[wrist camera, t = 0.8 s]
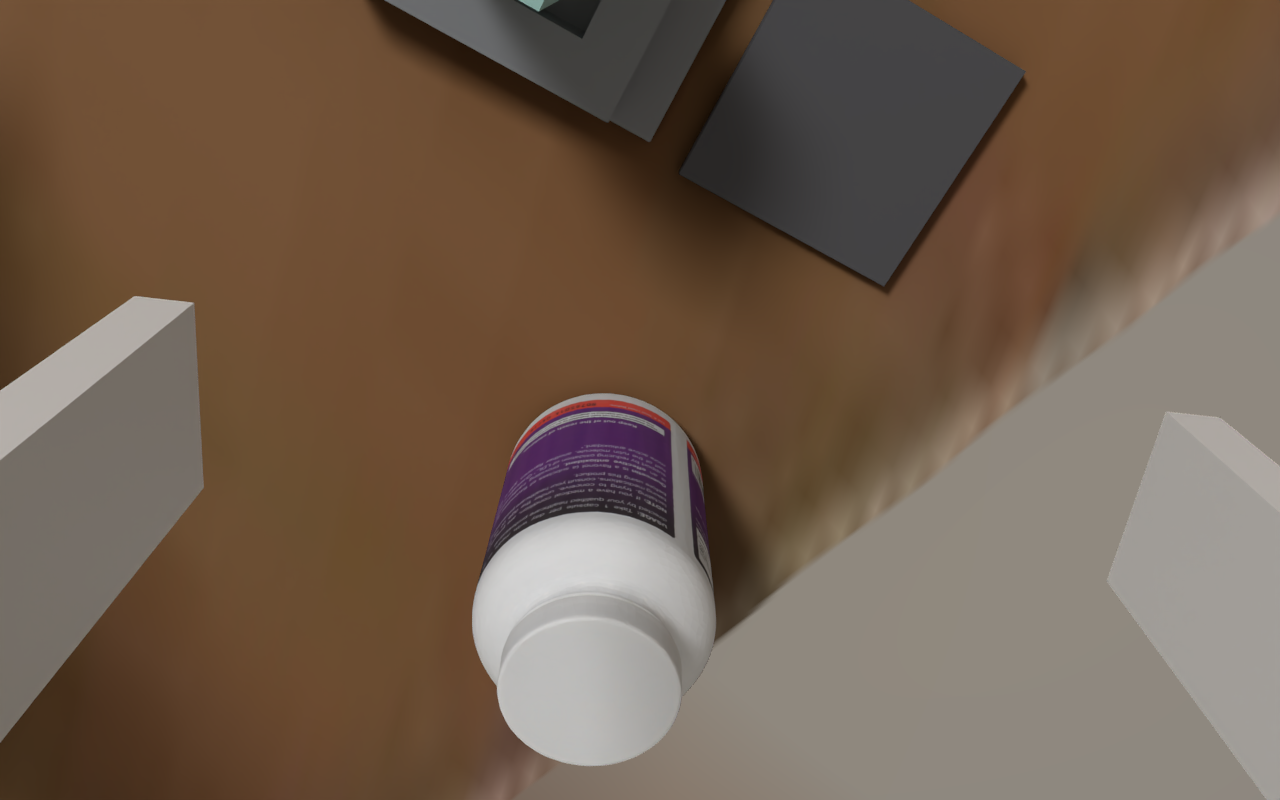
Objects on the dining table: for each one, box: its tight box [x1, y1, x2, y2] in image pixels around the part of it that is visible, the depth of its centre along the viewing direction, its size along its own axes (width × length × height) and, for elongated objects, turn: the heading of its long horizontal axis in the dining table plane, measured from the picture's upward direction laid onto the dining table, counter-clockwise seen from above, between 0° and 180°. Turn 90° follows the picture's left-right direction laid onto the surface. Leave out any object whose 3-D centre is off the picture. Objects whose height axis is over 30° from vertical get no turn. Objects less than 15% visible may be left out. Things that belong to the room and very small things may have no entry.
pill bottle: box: [472, 393, 716, 766], centre depth 38 cm, size 8×8×14 cm
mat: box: [679, 0, 1026, 286], centre depth 38 cm, size 9×9×1 cm
